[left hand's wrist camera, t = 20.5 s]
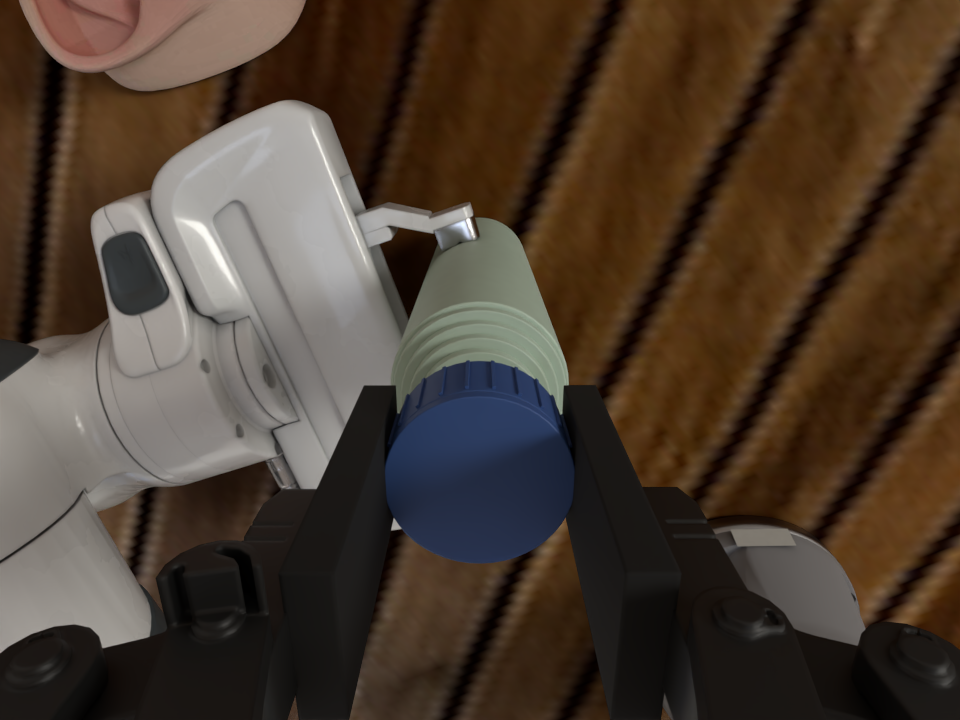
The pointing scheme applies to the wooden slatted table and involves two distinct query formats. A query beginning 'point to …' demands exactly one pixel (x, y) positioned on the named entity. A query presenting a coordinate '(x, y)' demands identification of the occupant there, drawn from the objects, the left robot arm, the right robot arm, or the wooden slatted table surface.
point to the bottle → (480, 315)
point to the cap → (479, 463)
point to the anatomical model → (159, 36)
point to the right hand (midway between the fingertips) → (498, 287)
